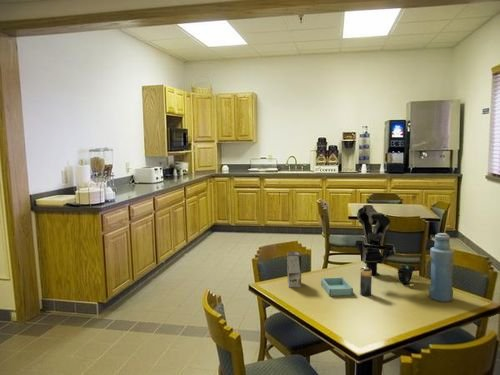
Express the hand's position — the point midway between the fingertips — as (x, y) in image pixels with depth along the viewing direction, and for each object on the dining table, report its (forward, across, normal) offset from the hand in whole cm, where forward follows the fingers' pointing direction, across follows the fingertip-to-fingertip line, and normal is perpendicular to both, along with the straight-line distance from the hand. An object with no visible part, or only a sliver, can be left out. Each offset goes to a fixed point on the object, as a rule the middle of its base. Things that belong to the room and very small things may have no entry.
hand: (371, 262), depth 193 cm
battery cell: (+15, 0, +4) cm, 16 cm away
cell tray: (+16, -14, +3) cm, 22 cm away
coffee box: (+19, -35, 0) cm, 40 cm away
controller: (-4, +12, +23) cm, 26 cm away
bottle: (+6, +30, +13) cm, 34 cm away
